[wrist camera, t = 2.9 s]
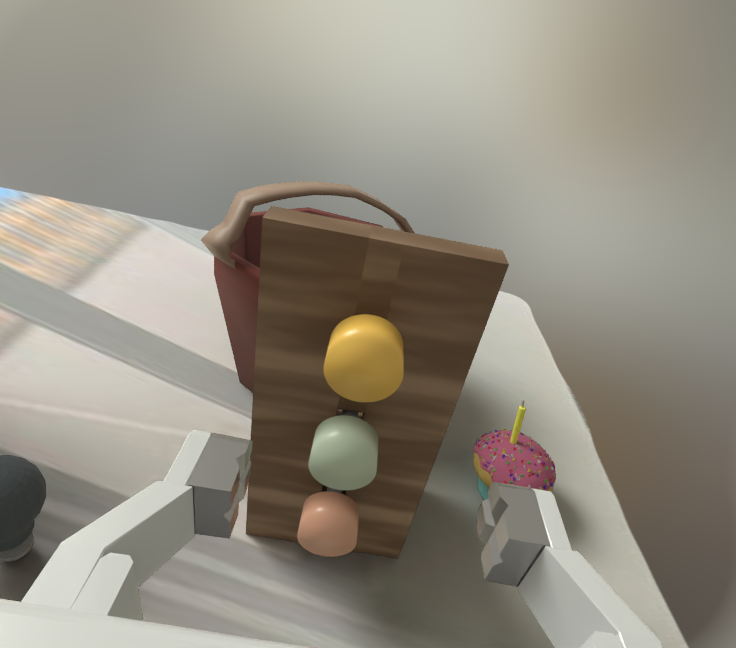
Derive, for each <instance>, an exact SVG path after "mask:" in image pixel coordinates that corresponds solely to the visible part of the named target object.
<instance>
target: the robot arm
mask: <svg viewBox="0 0 736 648" xmlns="http://www.w3.org/2000/svg"><path fill="white" fill-rule="evenodd" d="M251 452H252V441H251V440H246V439H241V438H236V437H231V436H226V435H221V434H216V433H210V432H205V431H200V430H195V429H193V430H192V431H191V432H190V433H189V435H188V437H187V438H186V440H185V442H184V444H183V446H182V448H181V449H180V451H179V453H178V455H177V457H176V459H175V461H174V462H173V464H172V466H171V468H170V470H169V472H168V474H167V475H166V477H165V479H164V481H156V482H154V483H153V484H151V485H150V486H148V487H147V488H145V489H143V490H142V491H140V492H139V493H137V494H136V495H134V496H133V497H131V498H129V499H128V500H126V501H125V502H123V503H122V504H120V505H119V506H117V507H115V508H114V509H112V510H111V511H109V512H108V513H106V514H105V515H103V516H101V517H100V518H98V519H97V520H95V521H94V522H92V523H91V524H89V525H87V526H86V527H84V528H83V529H81V530H80V531H78V532H77V533H75V534H74V535H72V536H70V537H69V538H67V539H66V540H64V541H63V542H61V544H60V545H59V546H58V548H57V549H56V551H55V552H54V554H53V555H52V557H51V558H50V560H49V561H48V563H47V564H46V566H45V567H44V569H43V570H42V572H41V573H40V574H39V576H38V577H37V579H36V580H35V582H34V583H33V585H32V586H31V588H30V589H29V591H28V592H27V594H26V595H25V597H24V598H23V599H22V601H21V602H19V601H12V600H6V599H0V648H313V647H307V646H300V645H294V644H287V643H281V642H274V641H268V640H262V639H255V638H249V637H242V636H236V635H229V634H223V633H217V632H210V631H204V630H197V629H191V628H184V627H178V626H172V625H165V624H159V623H152V622H146V621H143V614H142V608H141V603H140V597H139V591H138V587H140V586H141V585H142V584H143V583H144V582H145V581H146V580H147V579H148V578H149V577H150V576H152V575H153V574H154V573H155V572H156V571H157V570H158V569H159V568H160V567H161V566H162V565H164V564H165V563H166V562H167V561H168V560H169V559H170V558H171V557H172V556H173V555H175V554H176V553H177V552H178V551H179V550H180V549H181V548H182V547H183V546H184V545H185V544H187V543H188V542H189V541H190V540H191V539H192V538H193V537H194V536H195V534H200V535H207V536H215V537H222V538H230V536H231V533H232V530H233V527H234V524H235V522H236V519H237V516H238V506H239V502H240V501H241V500H242V499H244V495H245V492H246V489H247V486H248V482H249V478H250V472H251V461H250V459H249V458H250V455H251ZM488 497H489V498H488V499H486V500H484V501H482V503H481V505H480V507H479V510H478V516H477V534H478V539H479V540H480V541H481V543H482V544H483V545H484V546H485V547H484V549H483V551H482V553H481V561H482V567H483V574H484V580H485V581H490V582H495V583H500V584H505V585H510V586H515V587H518V588H517V589H518V591H519V593H520V594H521V596H522V597H523V599H524V600H525V602H526V604H527V605H528V607H529V608H530V610H531V611H532V613H533V614H534V616H535V618H536V619H537V621H538V622H539V624H540V625H541V627H542V629H543V630H544V632H545V633H546V635H547V636H548V638H549V639H550V641H551V643H552V644H553V646H554V647H555V648H662V645H661V643H660V641H659V639H658V638H657V637H656V636H655V635H654V634H653V633H652V632H651V630H650V629H649V628H648V627H647V626H646V625H645V624H644V623H643V622H642V621H641V620H640V618H639V617H638V616H637V615H636V614H635V613H634V612H633V611H632V610H631V609H630V608H629V606H628V605H627V604H626V603H625V602H624V601H623V600H622V599H621V598H620V597H619V596H618V594H617V593H616V592H615V591H614V590H613V589H612V588H611V587H610V586H609V585H608V584H607V582H606V581H605V580H604V579H603V578H602V577H601V576H600V575H599V574H598V573H597V572H596V571H595V569H594V568H593V567H592V566H591V565H590V564H589V563H588V562H587V561H586V560H585V559H584V557H583V556H582V555H581V554H580V553H579V552H578V551H573V550H572V548H571V545H570V542H569V539H568V536H567V533H566V530H565V527H564V524H563V521H562V518H561V515H560V512H559V509H558V506H557V503H556V500H555V497H554V495H553V494H552V492H550V491H544V490H539V489H533V488H529V487H522V486H516V485H510V484H504V483H497V482H493V483H492V484H491V485H490V487H489V489H488Z"/></svg>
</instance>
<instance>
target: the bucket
mask: <svg viewBox="0 0 736 648" xmlns="http://www.w3.org/2000/svg"><path fill="white" fill-rule="evenodd" d="M308 195H335V196H336V195H337V196H345V197H352V198H357V199H359V200H361V201H363V202H366V203H368V204H370V205H372V206H374V207H376V208H378V209H380V210H382V211H384V212H385V213H387V214H388V215H390V216H391V217H393V219H394V220H395V222H396V223H397V225H398V227H399V228H400V230H401V231H404V232H409V233H414V231H413V230H412V228H411V227H410V225H409V224H408V222H407V220H406V219H405V218H403V217H402V216H401V215H400V214H398V213H397V212H395V211H394V210H393V209H391V208H390V207H388V206H386V205H385V204H383V203H382V202H380V201H379V200H378V199H376V198H374V197H372V196H370V195H368V194H367V193H365V192H362V191H360V190H358V189H356V188H354V187H352V186H349V185H341V184H334V183H323V182H305V181H303V182H291V183H278V184H271V185H262V186H258V187H254V188H251V189H247V190H244V191H240V192H237V194H236V196H235V198H234V200H233V202H232V204H231V206H230V208H229V211H228V213H227V215H226V217H225V219H224V221H223V222H222V223H220V224H219V225H217V226H216V227H214V228H213V229H211V230H210V231H209V232H208V233H207V234H206V235H205V236H204V237H203V238H202V239H201V241H202V242H203V243H204V244H205V246H206V247H207V248H208V249H209V251H210V252H211V253H212V254H213V255H214V275H215V279H216V284H217V288H218V292H219V296H220V300H221V305H222V309H223V313H224V317H225V321H226V326H227V330H228V334H229V338H230V343H231V347H232V351H233V355H234V359H235V364H236V368H237V372H238V376H239V380H240V383H241V384H243V385H244V386H245V387H246V388H248V389H249V390H250V391H252V392H253V388H254V369H255V350H256V331H257V312H258V293H259V274H260V255H261V236H262V218H263V216H264V215H265V214H266V212H267V211H265V212H254V213H251V212H252V209H253V208H254V206H257V205H261V204H264V203H268V202H272V201H276V200H281V199H286V198H291V197H300V196H308ZM289 210H295V211H300V212H305V213H310V214H315V215H321V216H326V217H331V218H336V219H341V220H347V221H352V222H357V223H362V224H367V225H373V226H378V227H383V226H381V225H377V224H373V223H369V222H365V221H361V220H357V219H353V218H348V217H345V216H340V215H337V214H333V213H329V212H324V211H321V210H317V209H312V208H296V209H289ZM383 228H384V227H383ZM414 234H415V233H414ZM355 315H361V314H356V313H355ZM337 409H340V408H337ZM340 410H342V409H340Z"/></svg>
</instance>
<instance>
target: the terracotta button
mask: <svg viewBox="0 0 736 648" xmlns="http://www.w3.org/2000/svg"><path fill="white" fill-rule="evenodd" d="M341 491H342V490H337V489H332V488H329V487H327V492H319V493H315V494H313V495H311V496H309V497H308V498H307V499H306V500H305V502H304V505H303V510H302V515H301V519H300V524H299V529H298V534H297V539H298V542H299V543H300V545H301V546H302V547H303V548H304V549H306V550H307V551H309V552H311V553H313V554H316V555H320V556H326V557H336V556H342V555H345V554H347V553H349V552H351V551H352V550H353V549H354V548H355V546H356V543H357V532H358V521H359V507H358V505H357V504H356V502H355V501H354V500H352V499H351V498H350V497H348V496H346V495H344V494H341Z"/></svg>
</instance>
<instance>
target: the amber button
mask: <svg viewBox="0 0 736 648" xmlns="http://www.w3.org/2000/svg"><path fill="white" fill-rule="evenodd" d="M403 373H404V353H403V339H402V336H401V334H400V332H399V331H398V329H397V328H396V327H395V326H394V325H393V324H392V323H391V322H389V321H388V320H386V319H384V318H381V317H379V316H375V315H369V314H361V315H355V316H351V317H349V318H347V319H344V320H343V321H341V322H340V323H339V324H338V325H337V326H336V327H335V328H334V330H333V332H332V334H331V337H330V341H329V345H328V350H327V354H326V358H325V362H324V376H325V379H326V381H327V383H328V384H329V386H330V387H331V388H332V389H333V390H334V391H335V392H336V393H337V394H339V395H341V396H342V397H344V398H346V399H349V400H352V401H356V402H375V401H379V400H382V399H385V398H387V397H388V396H390V395H392V394H393V393H394V392H395V391H396V390H397V389H398V388H399V386H400V384H401V382H402V380H403Z"/></svg>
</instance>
